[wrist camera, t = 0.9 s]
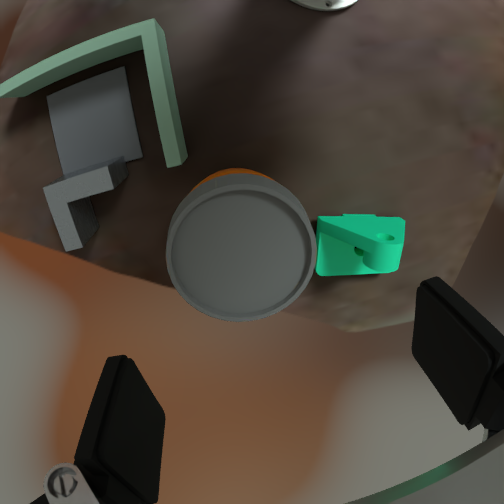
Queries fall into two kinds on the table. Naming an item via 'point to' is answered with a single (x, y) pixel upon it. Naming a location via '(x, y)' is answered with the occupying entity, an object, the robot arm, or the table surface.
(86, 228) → the bracket
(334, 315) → the table surface
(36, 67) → the corner walls
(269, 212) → the reusable coffee cup
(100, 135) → the mat
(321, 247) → the camera mount
